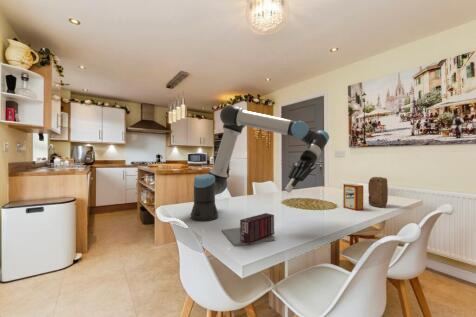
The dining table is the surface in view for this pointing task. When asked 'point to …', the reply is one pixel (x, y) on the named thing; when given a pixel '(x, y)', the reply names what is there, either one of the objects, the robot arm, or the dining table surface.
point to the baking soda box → (353, 197)
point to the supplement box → (256, 227)
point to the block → (378, 191)
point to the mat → (235, 237)
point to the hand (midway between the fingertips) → (287, 190)
